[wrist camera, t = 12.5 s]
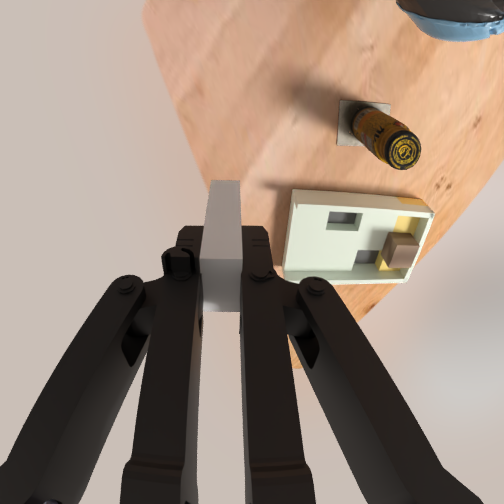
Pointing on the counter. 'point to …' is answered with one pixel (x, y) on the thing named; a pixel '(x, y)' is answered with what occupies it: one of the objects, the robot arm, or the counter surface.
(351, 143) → the condiment
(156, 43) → the counter surface
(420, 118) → the counter surface
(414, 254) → the block
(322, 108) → the counter surface
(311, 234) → the box
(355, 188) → the counter surface
